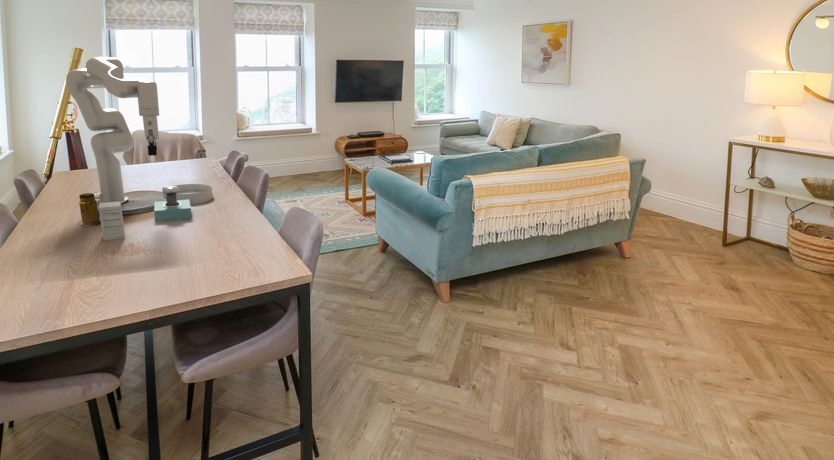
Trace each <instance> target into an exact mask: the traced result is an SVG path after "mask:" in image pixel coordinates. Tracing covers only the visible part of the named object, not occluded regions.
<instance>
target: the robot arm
mask: <svg viewBox="0 0 834 460" xmlns="http://www.w3.org/2000/svg"><path fill="white" fill-rule="evenodd" d="M65 83H66V86H67V89H68V92H69V94H70V95H71V97H72V98H73V100H74V101H75V103H76V104H77V106H78V108H79V111H80V114H81V115H82V118H83V120H84V122H85V123H84V124H86V127H87V128H88V129H89V130H90V131H92V132H99V133H96V134H94V135H93V136H92V137H91V138H90V146H91V148H92V152H93V154H94V158H95V164H96V169H97V175H98V176H97V177H98V183H99V190H100V192H98V193H97V194H94V193H93V194H94V197H95V200H96V199H97V204H99V203H108V202H122V201H126V200H128V199H129V197H127V196H125V190H124V183H123V182H124V181H123V175H122V168H121V162H120V160H119V159H118V158H117V156H116V155H115V154H118V153H125V152H129V151H131V150H132V149H133V147H134V138H133V136H132V134H131V131H130V128H129V126H128V124H127V122H126V119H125V117H124V115H123V113H122V112H120V111H119V109H115V108H103V107H102V106H101V103H100V101H99V99H98V98H97V96H96V95H95V94H93V92H90V91H89V90H88V89H106V91H107V92H108V93H109V94H111V95H112V96H113V97H116V98H119V99H134V98H137V103H138V115H139V116H140V117H142V122H143V131H144V136H145V140H146V141H147V155H148V156H157V155H158V153H157V150H158V148H157V141H159V140H160V137H159V123H158V116H160V109H159V106H160V105H159V95H158V93H159V92H158V84H157V82H156V81H154V80H147V79H145V78H124V65H123V63H122V62H121V60H120V59H118V58H116V57H113V56H112V57H110V56H109V57H108V56H104V57H103V56H97V57H91V58H90V59H88V60H87V61H86V63H85V68H75V69H72V70H70V71H69V72H67V73H66V77H65ZM129 200H130V199H129Z"/></svg>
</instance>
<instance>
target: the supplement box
mask: <svg viewBox="0 0 834 460" xmlns="http://www.w3.org/2000/svg"><path fill="white" fill-rule="evenodd" d="M98 215H99V219H100V221H101V224H100V226H101V233H102V239H103V241H112V240H121V239H125V238H126V231H125V223H124V216H123V210H122V203H121V202H108V203H98Z"/></svg>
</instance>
